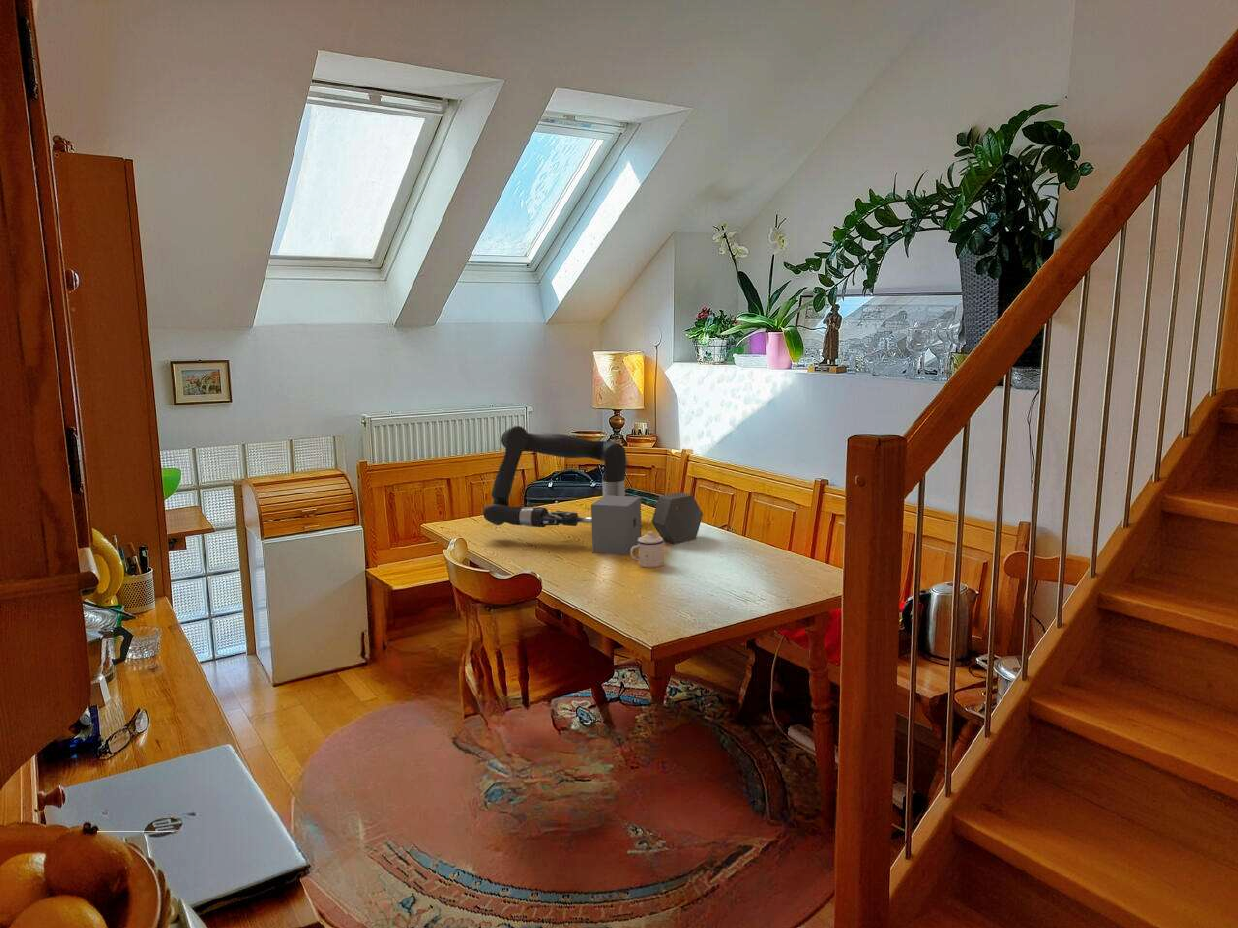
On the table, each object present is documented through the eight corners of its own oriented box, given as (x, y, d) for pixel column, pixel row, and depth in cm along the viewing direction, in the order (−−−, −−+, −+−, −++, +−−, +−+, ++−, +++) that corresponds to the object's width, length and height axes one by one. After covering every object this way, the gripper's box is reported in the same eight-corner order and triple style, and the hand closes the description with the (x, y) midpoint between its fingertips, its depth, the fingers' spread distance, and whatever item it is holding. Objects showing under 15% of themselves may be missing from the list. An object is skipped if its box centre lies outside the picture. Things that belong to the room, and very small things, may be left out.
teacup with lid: (658, 559, 304) (657, 527, 302) (668, 566, 296) (667, 533, 294) (626, 563, 301) (625, 531, 299) (635, 570, 292) (634, 537, 290)
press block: (606, 541, 330) (605, 495, 327) (641, 543, 326) (640, 496, 323) (592, 552, 315) (590, 504, 312) (628, 554, 311) (627, 506, 308)
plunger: (566, 523, 328) (565, 510, 327) (613, 526, 322) (612, 513, 321) (561, 526, 324) (560, 513, 323) (608, 529, 318) (608, 516, 317)
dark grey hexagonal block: (696, 520, 339) (673, 481, 329) (709, 524, 333) (686, 484, 323) (668, 549, 332) (644, 511, 323) (681, 554, 326) (657, 514, 317)
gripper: (525, 511, 322) (567, 513, 317) (541, 503, 336) (581, 505, 330) (526, 531, 323) (568, 533, 318) (541, 521, 337) (582, 524, 331)
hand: (574, 519), depth 324 cm, fingers closed on plunger, 5 cm apart
